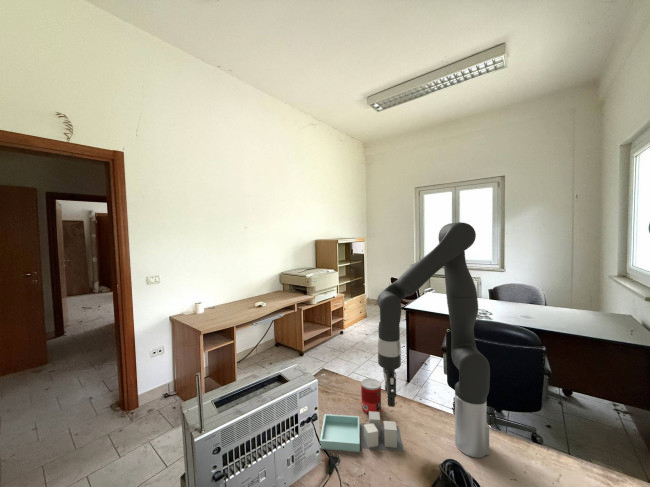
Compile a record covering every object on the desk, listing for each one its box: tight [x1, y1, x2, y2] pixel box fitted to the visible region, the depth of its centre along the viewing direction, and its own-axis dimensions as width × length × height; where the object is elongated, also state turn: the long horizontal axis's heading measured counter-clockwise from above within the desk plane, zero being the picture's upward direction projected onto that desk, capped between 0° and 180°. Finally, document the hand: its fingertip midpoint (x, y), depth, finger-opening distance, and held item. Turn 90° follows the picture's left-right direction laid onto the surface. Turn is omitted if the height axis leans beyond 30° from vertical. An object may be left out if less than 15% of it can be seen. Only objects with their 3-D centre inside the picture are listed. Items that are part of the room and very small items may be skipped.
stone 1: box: [368, 411, 381, 437], centre depth 95 cm, size 4×4×6 cm
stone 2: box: [364, 423, 378, 448], centre depth 90 cm, size 4×4×5 cm
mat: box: [359, 422, 405, 453], centre depth 92 cm, size 14×12×1 cm
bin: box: [319, 413, 361, 453], centre depth 93 cm, size 13×13×3 cm
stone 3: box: [382, 420, 397, 448], centre depth 89 cm, size 4×4×6 cm
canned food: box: [360, 377, 382, 415], centre depth 107 cm, size 8×8×11 cm
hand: (389, 398), depth 89 cm, fingers open, 8 cm apart
